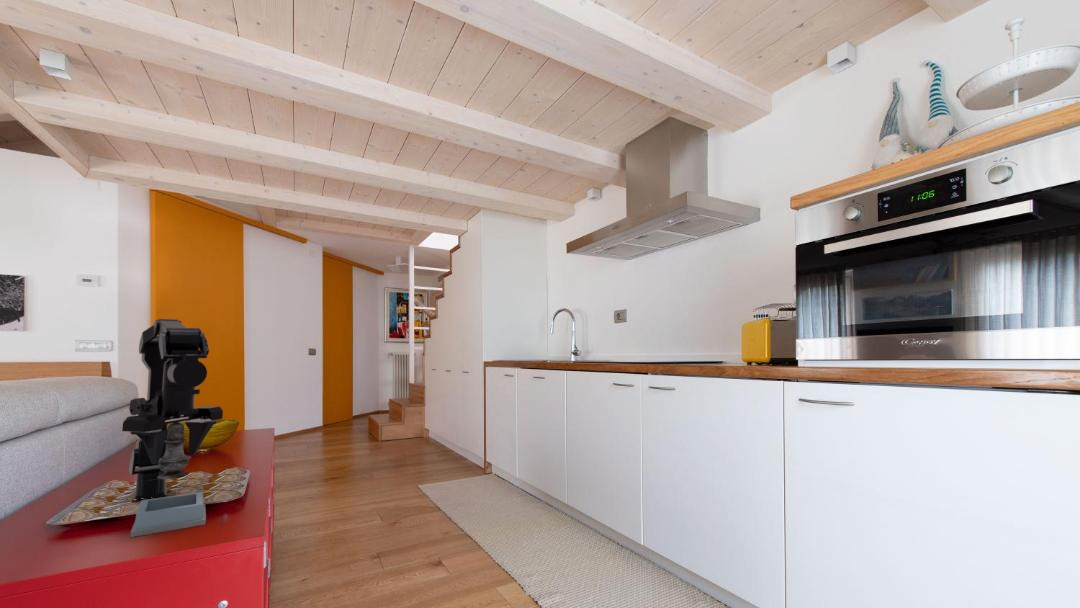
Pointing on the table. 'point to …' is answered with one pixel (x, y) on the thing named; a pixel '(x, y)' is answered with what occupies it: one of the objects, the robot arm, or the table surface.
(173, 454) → the grey stone tall figure
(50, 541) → the table surface
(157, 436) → the robot arm
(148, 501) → the holder
